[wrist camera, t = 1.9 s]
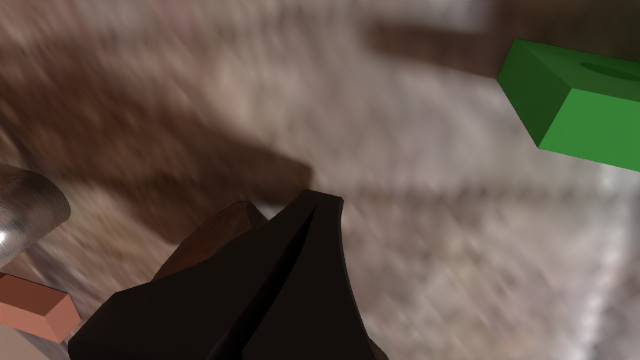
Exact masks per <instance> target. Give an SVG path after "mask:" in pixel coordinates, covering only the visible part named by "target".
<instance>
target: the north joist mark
mask: <svg viewBox="0 0 640 360" xmlns="http://www.w3.org/2000/svg"><path fill="white" fill-rule="evenodd" d="M80 322H81V319H80V317H79V314H78V312H77V310H76V308H75V306H74V304H73V302H72V300H71V298H70V296H69V294H67V293H64V292H61V291H58V290H55V289H52V288H48V287H45V286H42V285H39V284H36V283H33V282H30V281H26V280H23V279H20V278H17V277H14V276H11V275H7V274H6V275H5V276H4V277H2V278H1V279H0V323H2V324H5V325H8V326H10V327H13V328H16V329H19V330H22V331H25V332H28V333H31V334H34V335H37V336H40V337H42V338H45V339H48V340H51V341H54V342H57V343H61V342H62V341H63V340H64V338H65V337H66V336H67V335H68V334H69V333H70V332H71V331H72V330H73V329H74V328H75V327H76V326H77V325H78V324H79V323H80Z"/></svg>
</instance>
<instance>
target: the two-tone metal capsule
mask: <svg viewBox="0 0 640 360" xmlns="http://www.w3.org/2000/svg"><path fill="white" fill-rule="evenodd" d="M70 214H71V210H70V206H69V203H68V201H67V199H66V198H65V196H64V195H63V193H62V192H61V191H60V190H59V189H58V188H57V187H56V186H55V185H54V184H53V183H52V182H50V181H49V180H48V179H46V178H45V177H43V176H41V175H39V174H37V173H34V172H30V171H21V172H19V173H17V174H15V175H13V176H11V177H9V178H8V179H6V180H4V181H2V182H0V268H2V267H3V266H4V265H6V264H7V263H8V262H10V261H11V260H13V259H14V258H15V257H17V256H18V255H19V254H21V253H22V252H23V251H25V250H26V249H28V248H29V247H30V246H32V245H33V244H34V243H36V242H37V241H39V240H40V239H41V238H43V237H44V236H45V235H47V234H48V233H50V232H51V231H52V230H54V229H55V228H56V227H58V226H59V225H60V224H62V223H63V222H65V221H66V220H67V219H68V218H69V217H70Z"/></svg>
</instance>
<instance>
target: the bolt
mask: <svg viewBox="0 0 640 360" xmlns="http://www.w3.org/2000/svg"><path fill="white" fill-rule="evenodd" d="M266 222H268V220H267V218H266V217H265V216H264V215H263V214H262V213H261V212H260V211H259V210H258V209H257V208H256V207H255V206H254V205H253V204H252V203H251V201H249V202H240V203H235V204H232V205H231V206H229V207H228V208H226V209H224V210H223V211H221V212H219V213H217V214H215V215H214V216H213V217H211V218H210V219H209V220H207V221H206V222H205V223H204V224H202V225H201V226H200V227H199V228H198V229H197V230H196V231H194V232H193V233H192V234H191V235H190V236H189V237H188V238H186V239H185V240H184V241H183V242H182V243H181V244H180V245H179V247H178V248H177V249H176V250H175V251H174V253H173V254H172V255H171V256H170V257H169V258H168V259H167V261H166V262H165V263H164V264H163V265H162V266H161V268H160V269H159V271H158V272H157V273H156V275H155V276H154V278H153V279H152V280H151V281H154V280H157V279H160V278H163V277H165V276H168V275H171V274H173V273H176V272H178V271H181V270H183V269H186V268H188V267H190V266H193V265H195V264H197V263H199V262H201V261H203V260H205V259H207V258H210V257H211V256H213V255H215V254H217V253H219V252H221V251H223V250H225V249H227V248H228V247H230V246H232V245H234V244H235V243H237V242H239V241H240V240H242V239H243V238H245V237H246V236H248V235H249V234H251V233H252V232H254V231H255V230H257V229H258V228H259V227H261V226H262V225H264V224H265V223H266ZM370 341H371V344H372V346H373V348H374V350H375V353H376V355H377V357H378V359H379V360H389V359H388V357H387V355H386V354H385V353H384V352H383V351H382V350H381V349H380V348H379V347H378V346H377V345H376V344H375V343H374V342H373V341H372V340H370Z"/></svg>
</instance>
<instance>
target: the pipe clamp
mask: <svg viewBox="0 0 640 360" xmlns="http://www.w3.org/2000/svg"><path fill="white" fill-rule="evenodd" d="M497 81H498V83H499V84H500V86H501V88H502V89H503V91H504V93H505V94H506V96H507V98H508V99H509V101H510V103H511V104H512V106H513V108H514V109H515V111H516V113H517V114H518V116H519V118H520V119H521V121H522V123H523V124H524V126H525V128H526V129H527V131H528V133H529V134H530V136H531V138H532V139H533V141H534V143H535V144H536V146H537V148H539V149H544V150H548V151H552V152H557V153H561V154H565V155H569V156H574V157H578V158H582V159H587V160H591V161H595V162H600V163H604V164H608V165H613V166H617V167H621V168H625V169H630V170H634V171H638V172H640V57H639V59H638V60H637V62H634V61H629V60H624V59H619V58H614V57H608V56H603V55H598V54H593V53H588V52H583V51H578V50H572V49H567V48H562V47H557V46H552V45H547V44H542V43H536V42H531V41H526V40H521V39H516V38H515V39H514V41H513V44H512V46H511V48H510V50H509V53H508V55H507V57H506V60H505V62H504V64H503V66H502V69H501V71H500V73H499V76H498V78H497Z"/></svg>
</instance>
